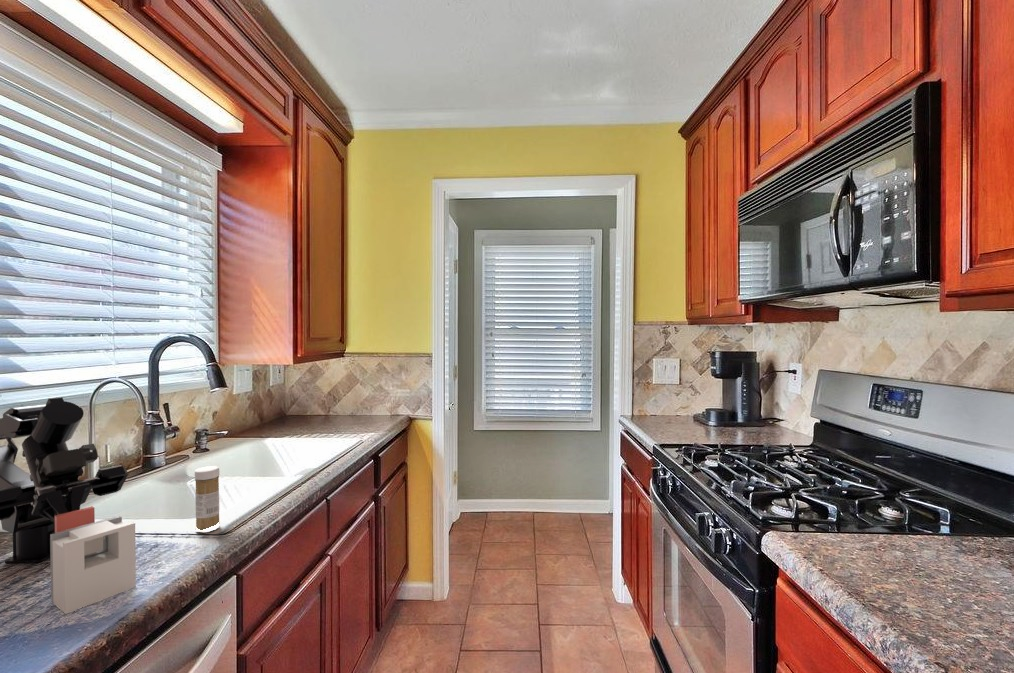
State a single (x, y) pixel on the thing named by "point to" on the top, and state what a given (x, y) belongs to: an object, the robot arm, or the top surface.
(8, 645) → the top surface
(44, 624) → the top surface
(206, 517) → the sprinkles bottle
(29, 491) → the robot arm
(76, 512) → the button
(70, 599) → the box
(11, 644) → the top surface
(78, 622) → the top surface
